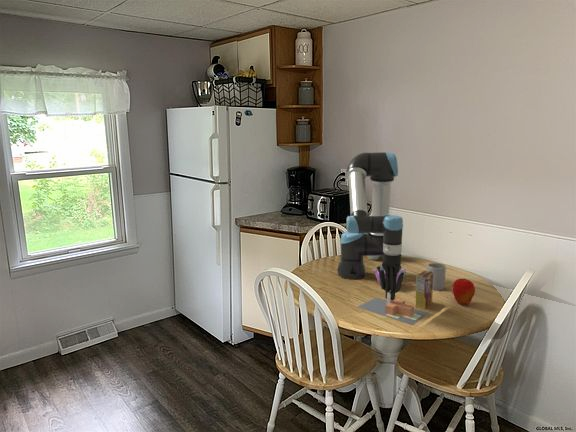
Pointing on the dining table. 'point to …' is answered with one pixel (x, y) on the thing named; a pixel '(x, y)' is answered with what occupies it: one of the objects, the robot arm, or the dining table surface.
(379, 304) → the plate
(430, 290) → the candy box
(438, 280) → the mug
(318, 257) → the dining table surface
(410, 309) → the t block
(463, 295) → the apple
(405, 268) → the teapot
